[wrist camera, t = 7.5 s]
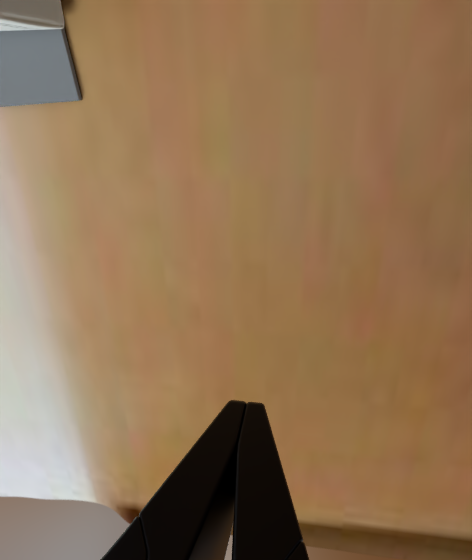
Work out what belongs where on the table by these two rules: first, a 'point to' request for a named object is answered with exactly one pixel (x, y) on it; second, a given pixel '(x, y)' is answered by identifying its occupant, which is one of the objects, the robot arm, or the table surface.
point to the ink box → (31, 15)
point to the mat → (36, 68)
